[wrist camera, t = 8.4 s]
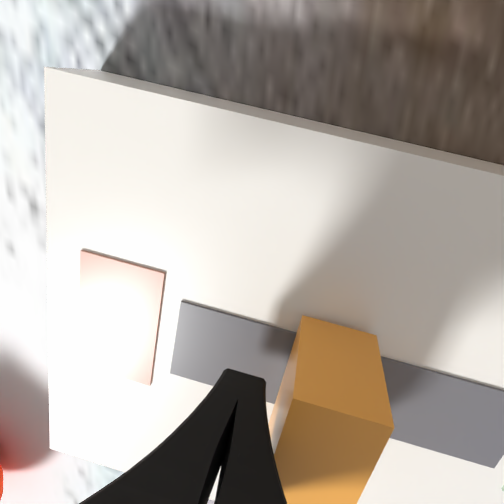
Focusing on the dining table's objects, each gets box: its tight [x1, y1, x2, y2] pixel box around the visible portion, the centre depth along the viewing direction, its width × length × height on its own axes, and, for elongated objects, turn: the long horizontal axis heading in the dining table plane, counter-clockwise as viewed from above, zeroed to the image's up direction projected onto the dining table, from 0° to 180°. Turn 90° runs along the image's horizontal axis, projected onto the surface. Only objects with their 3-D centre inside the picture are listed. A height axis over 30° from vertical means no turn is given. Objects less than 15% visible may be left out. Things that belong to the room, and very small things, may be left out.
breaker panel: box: [44, 67, 504, 504], centre depth 15 cm, size 22×16×3 cm
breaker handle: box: [268, 315, 394, 504], centre depth 12 cm, size 2×5×4 cm, turn 168°
